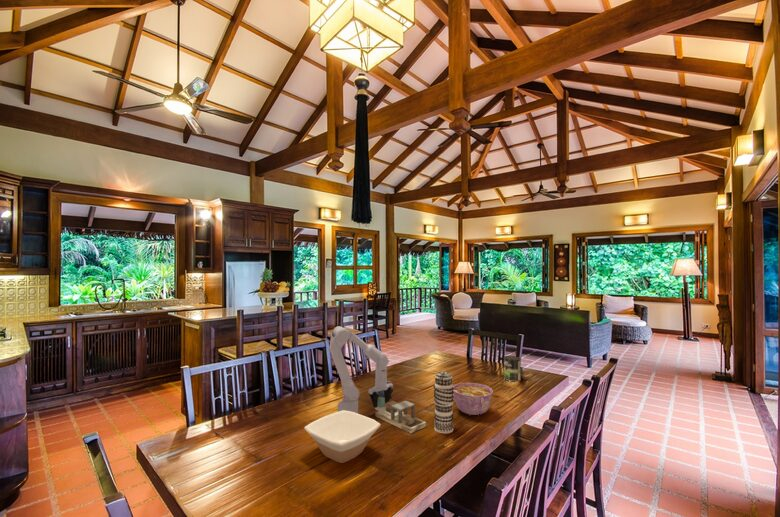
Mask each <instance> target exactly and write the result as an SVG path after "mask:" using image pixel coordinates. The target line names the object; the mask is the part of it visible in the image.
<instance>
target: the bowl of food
mask: <svg viewBox="0 0 780 517" xmlns="http://www.w3.org/2000/svg"><path fill="white" fill-rule="evenodd" d="M453 388H454V390H453V391H454V393H453V394H452V395H453V396H454V397H453V399H454V402H455V405H456V407H457V409H458V410H460V411H461V412H462V413H464V414H465V413H466V415H467V414H468V416H471V415H478V416H480V415H482V414H484V413H486V412H488V410H489V409H490V405H491V401H492V397H493V393H494V390H493V389H492V388H491V387H490V386H488V385H486V384H482V383H477V382H476V383H475V382H461V383H456V384H455V385H454V384H453ZM479 414H480V415H479Z"/></svg>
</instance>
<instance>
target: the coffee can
mask: <svg viewBox="0 0 780 517" xmlns="http://www.w3.org/2000/svg"><path fill="white" fill-rule="evenodd" d="M505 379H506V380H509V381H508V382H510V381H519V380H520V381H521V357H520V356H516V355H505V356H503V380H505ZM506 380H505V381H506ZM520 381H519V382H520Z"/></svg>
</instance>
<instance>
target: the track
mask: <svg viewBox="0 0 780 517" xmlns="http://www.w3.org/2000/svg"><path fill="white" fill-rule="evenodd" d="M409 408H411V409H410V414H411V415H410V414H409V413H408V409H409ZM395 409H397V410H398V417H395ZM402 412H404V414H403V415H402ZM375 417H376V418H378V419H380V420H383V421H385V422H387V423H388V424H391V425H392V426H395V427H396V428H399V429H401V430H402V431H405V432H407V433H409V434H412V433H415V432H418V431H420V430H421V429H424V428H426V427H427V422H426V421H425V420H422V419H420V418H418V417H416V403H414V402H410V401H408V400H403V401H401V402H397V404H395V405H392V406H391V416H389V415H387V414H384V413H382V412H380V411H378V410H376V411H375Z"/></svg>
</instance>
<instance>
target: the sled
mask: <svg viewBox="0 0 780 517" xmlns="http://www.w3.org/2000/svg"><path fill="white" fill-rule="evenodd" d="M374 410H376V411H380V412H382V413H384V414H387V415H389V416H391V413H389V412H387V411H386V403H385V398H384V397H378V401H377V408H375V407H374ZM403 414H404V411H402V415H403ZM395 417H398V411H397V412H395Z"/></svg>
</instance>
